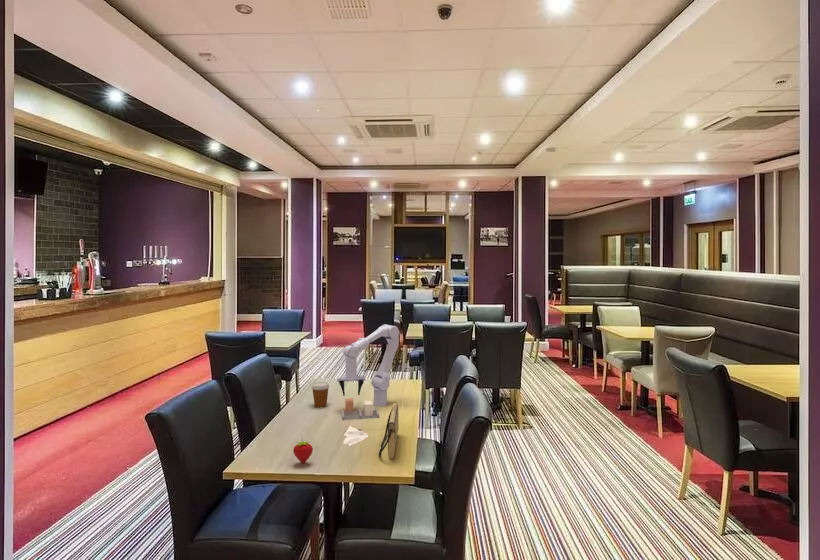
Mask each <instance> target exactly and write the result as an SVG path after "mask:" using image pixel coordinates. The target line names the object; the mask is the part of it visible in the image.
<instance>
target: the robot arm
mask: <svg viewBox="0 0 820 560" xmlns="http://www.w3.org/2000/svg"><path fill="white" fill-rule="evenodd" d="M381 337H384V338H385V340H386V341H387V344H386V349H385V351H384V355H383V358H382V361H381V364H380V367H379V369H378V371H376V372H375V374H374V376H373V377H372V379H371V381H370V384H371V386H372V388H373V406H376V407H385V406H387V405H388V389H389V388H390V379H391V376H390V374H389V373H390V370H391V368H392V363H393V361H394V358H395V355H396V353H397V350H398V347H399V343H400V340H399V337H400V330H399V327H397V326H396V325H390V324H386V323H384V324H382V325H381V326H379V327H377V329H376V330H374V331H373V332H372V333H371V334H369V335H368V336H366V337H359V338H358V340H357V341H355V342H352V343H351V344H350V345H346V346H345V347H344V349H343V355H344V356H345V376H339V377H336V383H338V384H339V386H340V388H341V390H342V395H343V397H344V396H346V392H345V382H358V383H357V386H358V387H357V388H358V389H357V395H358V396H360V394H361V390H362V387H363V385H364V382H365V381H366V376H364V375H363V376H362V375H359V376H358V374H357V373H358V372H357V371H358V369H357V360H358V359H357V357H358V356H359V353H361V352H362V351H364V350H366V349H367V348H369V345H370V343H373V342H374V341H375V340H377V339H380V338H381Z"/></svg>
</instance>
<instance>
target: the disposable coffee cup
mask: <svg viewBox="0 0 820 560" xmlns="http://www.w3.org/2000/svg"><path fill="white" fill-rule="evenodd" d="M329 387H330V384H329V383H328V382H325V381H323V382H322V381H321V382H313V383H312V385H311V390H312V396H313V403H314V407H315V408H317V407H319V408H320V407H322V408H326V407H327V405H328V395H329ZM325 406H326V407H325ZM320 409H321V408H320Z"/></svg>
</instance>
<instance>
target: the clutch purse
mask: <svg viewBox="0 0 820 560" xmlns="http://www.w3.org/2000/svg"><path fill="white" fill-rule="evenodd" d="M398 432H399V405H398V402H396V401H395V402H393V403H392V405H391V410H390V412H389V415H388V418H387V422H386V427H385V432H384V437H383V439H382V441H381V444H380V447H381V449H380V448H379V451H378V455H381V454H382V452H383V451H384V449H386V446H387V454H388V455H387V456H388V457H389V459H391V460H393V459H395V457H396V447H397V446H396V445H397V438H398ZM386 438H387V439H386Z"/></svg>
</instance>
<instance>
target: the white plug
mask: <svg viewBox="0 0 820 560" xmlns="http://www.w3.org/2000/svg"><path fill="white" fill-rule="evenodd" d="M373 410H374V402H373V401H372V400H364V401H363V411H364V414H365V417H368V416H373Z"/></svg>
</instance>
